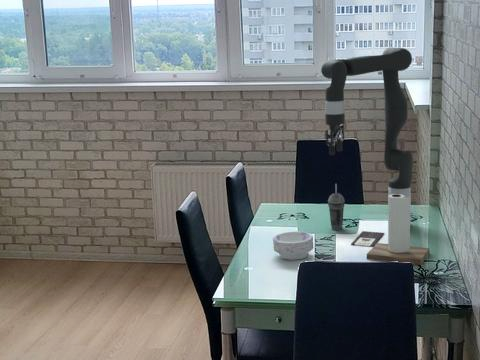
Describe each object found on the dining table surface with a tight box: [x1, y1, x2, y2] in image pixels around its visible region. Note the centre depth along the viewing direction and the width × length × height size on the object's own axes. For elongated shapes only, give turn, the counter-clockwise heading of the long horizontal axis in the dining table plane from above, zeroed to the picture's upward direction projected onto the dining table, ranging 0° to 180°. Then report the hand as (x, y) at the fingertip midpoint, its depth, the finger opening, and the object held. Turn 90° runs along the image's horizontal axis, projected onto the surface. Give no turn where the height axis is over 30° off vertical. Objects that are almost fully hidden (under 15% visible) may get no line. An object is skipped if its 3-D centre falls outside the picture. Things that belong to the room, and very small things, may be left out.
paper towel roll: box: [387, 194, 411, 253], centre depth 261 cm, size 7×6×21 cm
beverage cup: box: [327, 183, 346, 231], centre depth 301 cm, size 7×7×20 cm
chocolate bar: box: [350, 230, 385, 248], centre depth 286 cm, size 9×1×18 cm
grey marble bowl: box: [272, 231, 314, 261], centre depth 269 cm, size 15×15×8 cm
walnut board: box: [366, 242, 431, 266], centre depth 264 cm, size 14×20×2 cm
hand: (335, 153), depth 279 cm, fingers open, 8 cm apart
